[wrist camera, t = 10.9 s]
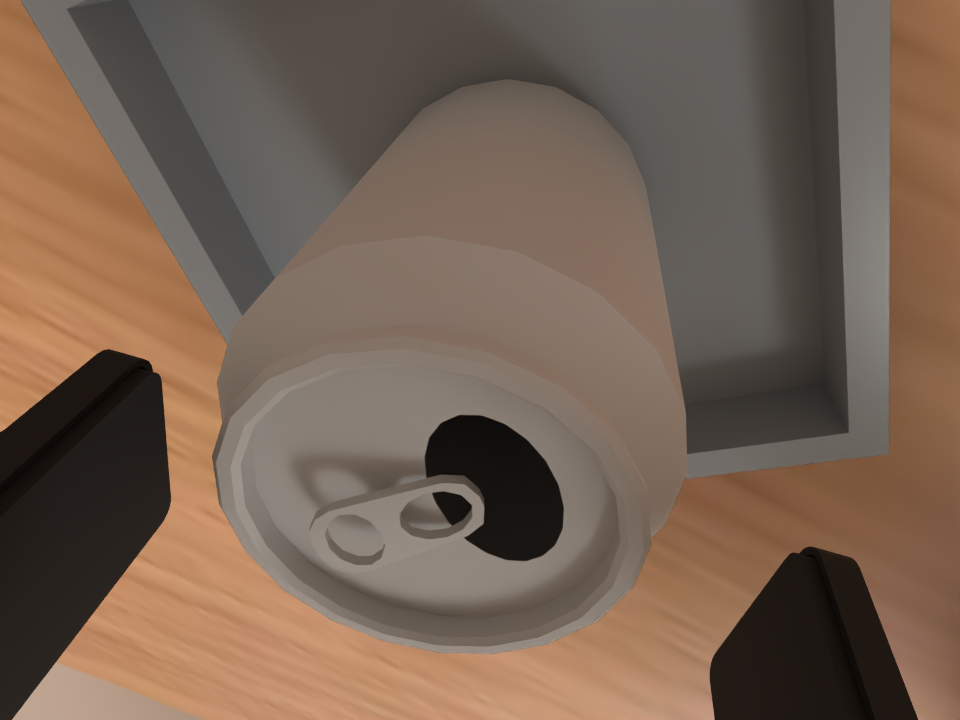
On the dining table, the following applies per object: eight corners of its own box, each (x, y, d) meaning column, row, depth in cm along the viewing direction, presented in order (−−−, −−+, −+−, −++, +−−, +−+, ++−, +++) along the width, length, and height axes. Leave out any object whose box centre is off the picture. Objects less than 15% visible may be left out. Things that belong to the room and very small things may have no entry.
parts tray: (855, 391, 21) (888, 454, 19) (358, 465, 26) (334, 521, 24) (833, -370, 12) (892, -441, 10) (89, -34, 17) (6, -24, 15)
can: (670, 293, 20) (743, 677, 10) (440, 345, 22) (313, 699, 12) (610, 28, 16) (633, 220, 6) (341, 123, 18) (44, 376, 8)
